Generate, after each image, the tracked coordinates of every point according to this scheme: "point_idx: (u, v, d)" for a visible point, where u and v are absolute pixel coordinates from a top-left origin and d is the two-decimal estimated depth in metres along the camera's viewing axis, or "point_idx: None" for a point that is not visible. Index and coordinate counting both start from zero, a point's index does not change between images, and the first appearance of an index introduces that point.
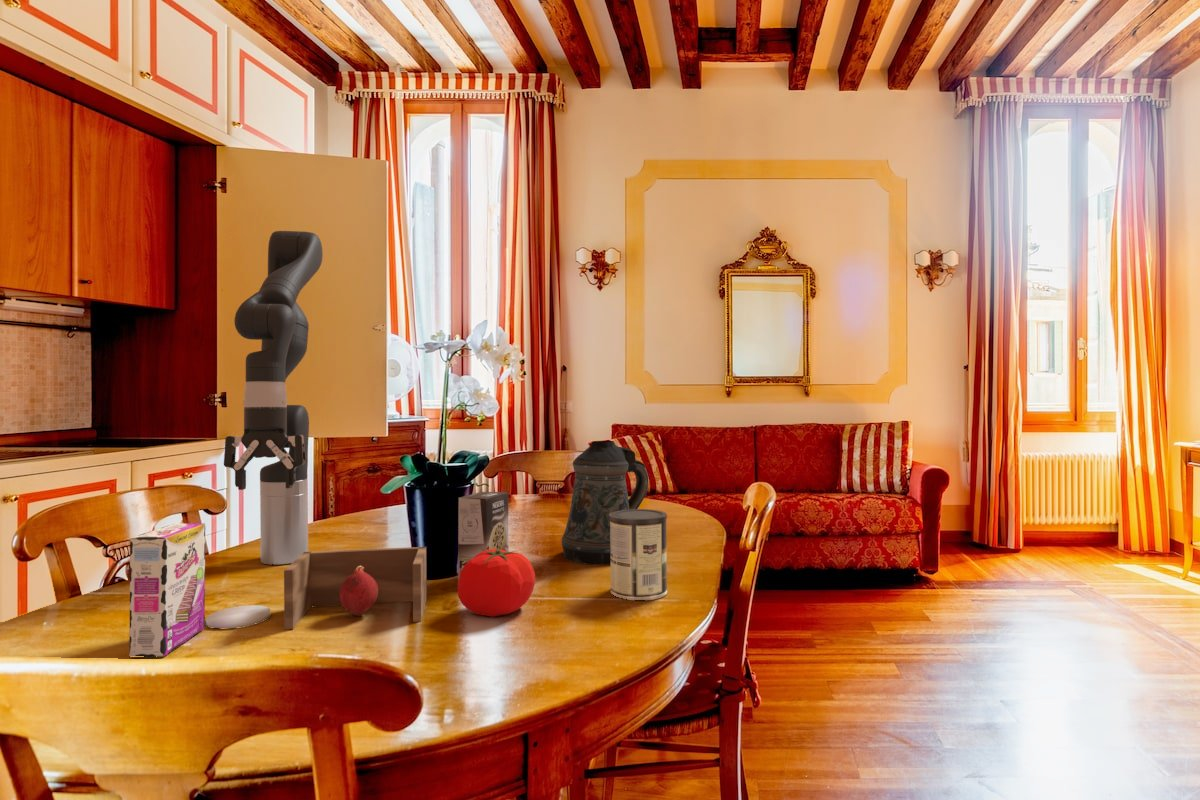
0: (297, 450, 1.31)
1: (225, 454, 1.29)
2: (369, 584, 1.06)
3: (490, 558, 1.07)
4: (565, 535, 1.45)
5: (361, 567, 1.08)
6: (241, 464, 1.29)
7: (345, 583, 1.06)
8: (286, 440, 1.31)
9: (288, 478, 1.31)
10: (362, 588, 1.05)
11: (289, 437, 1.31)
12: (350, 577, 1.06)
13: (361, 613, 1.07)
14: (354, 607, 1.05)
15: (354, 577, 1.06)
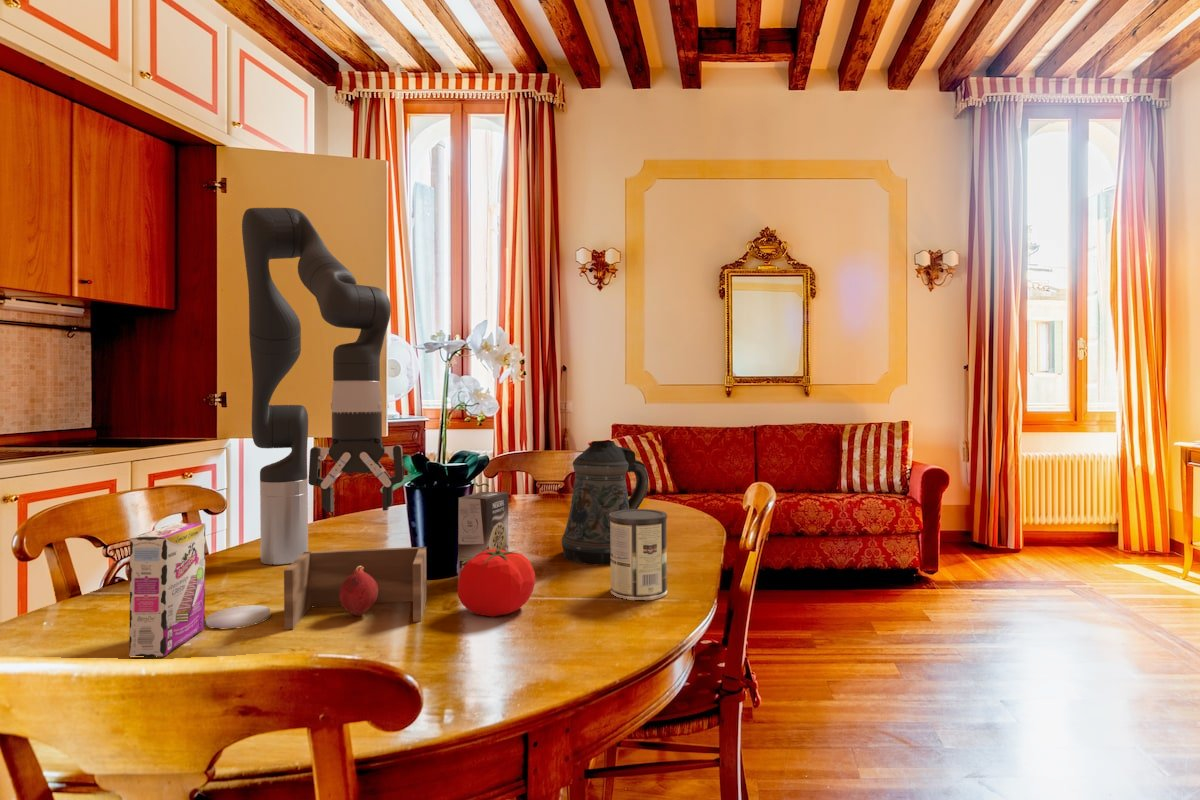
0: (396, 464, 1.07)
1: (310, 469, 1.05)
2: (369, 584, 1.06)
3: (490, 558, 1.07)
4: (565, 535, 1.45)
5: (361, 567, 1.08)
6: (329, 481, 1.05)
7: (345, 583, 1.06)
8: (382, 452, 1.07)
9: (385, 498, 1.07)
10: (362, 588, 1.05)
11: (386, 448, 1.08)
12: (350, 577, 1.06)
13: (361, 613, 1.07)
14: (354, 607, 1.05)
15: (354, 577, 1.06)
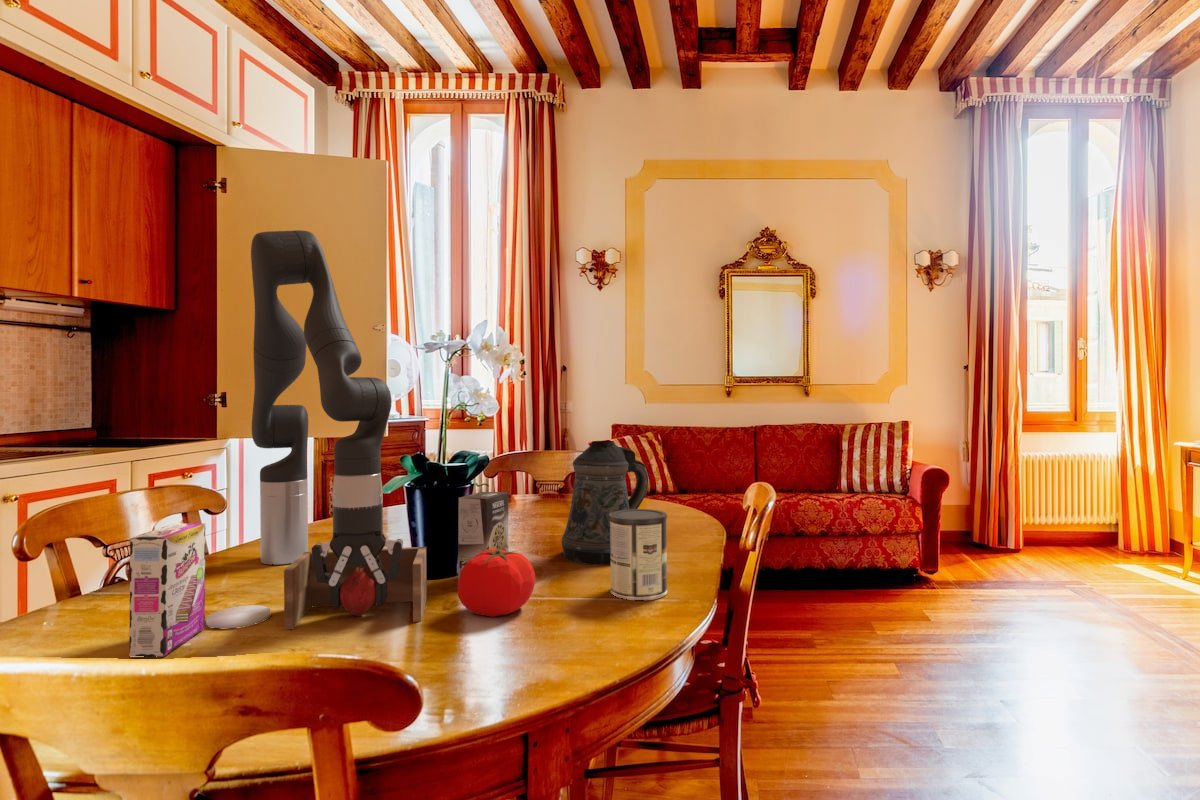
0: (393, 560, 1.07)
1: (316, 568, 1.05)
2: (369, 584, 1.06)
3: (490, 558, 1.07)
4: (565, 535, 1.45)
5: (361, 567, 1.08)
6: (336, 578, 1.06)
7: (345, 583, 1.06)
8: (383, 545, 1.07)
9: (379, 595, 1.07)
10: (362, 588, 1.05)
11: (387, 542, 1.08)
12: (350, 577, 1.06)
13: (361, 613, 1.07)
14: (354, 607, 1.05)
15: (354, 577, 1.06)
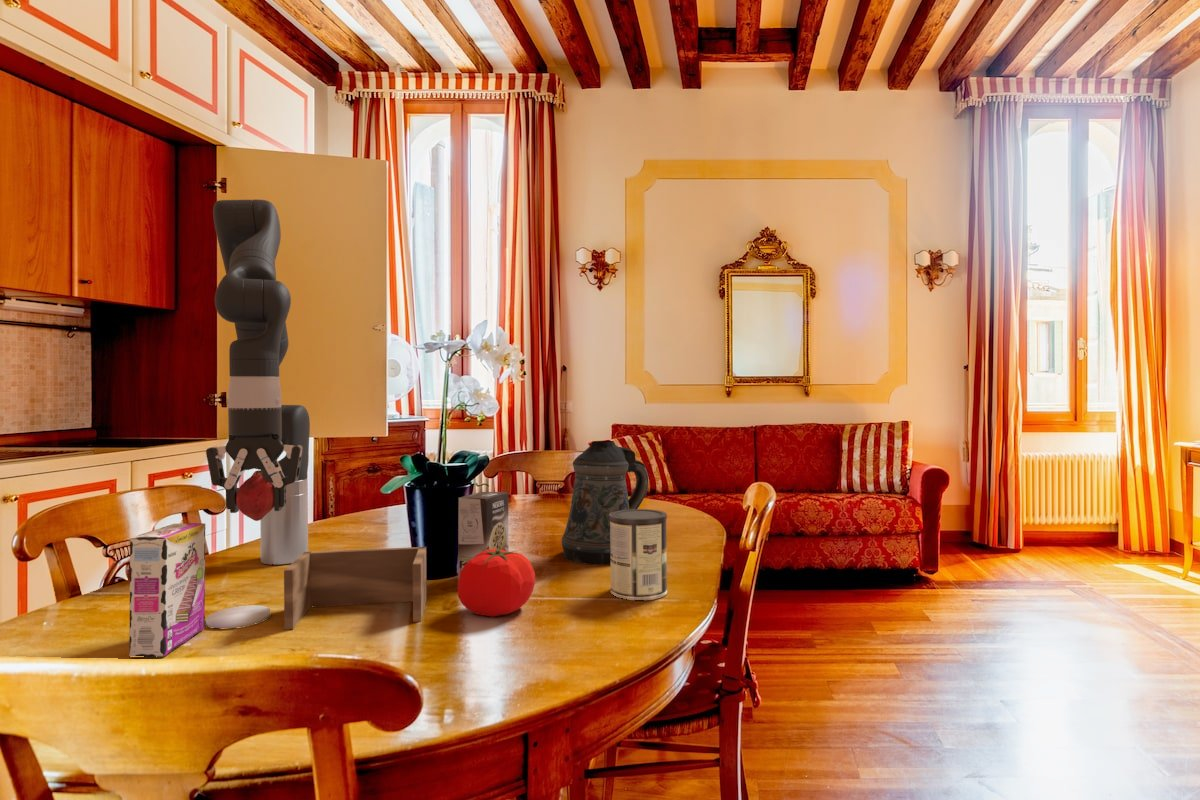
0: (291, 464, 1.07)
1: (210, 470, 1.04)
2: (266, 488, 1.06)
3: (490, 558, 1.07)
4: (565, 535, 1.45)
5: (258, 471, 1.07)
6: (232, 481, 1.05)
7: (241, 486, 1.05)
8: (281, 449, 1.07)
9: (277, 499, 1.06)
10: (259, 491, 1.05)
11: (285, 446, 1.07)
12: (247, 481, 1.05)
13: (259, 517, 1.06)
14: (250, 509, 1.04)
15: (251, 480, 1.05)
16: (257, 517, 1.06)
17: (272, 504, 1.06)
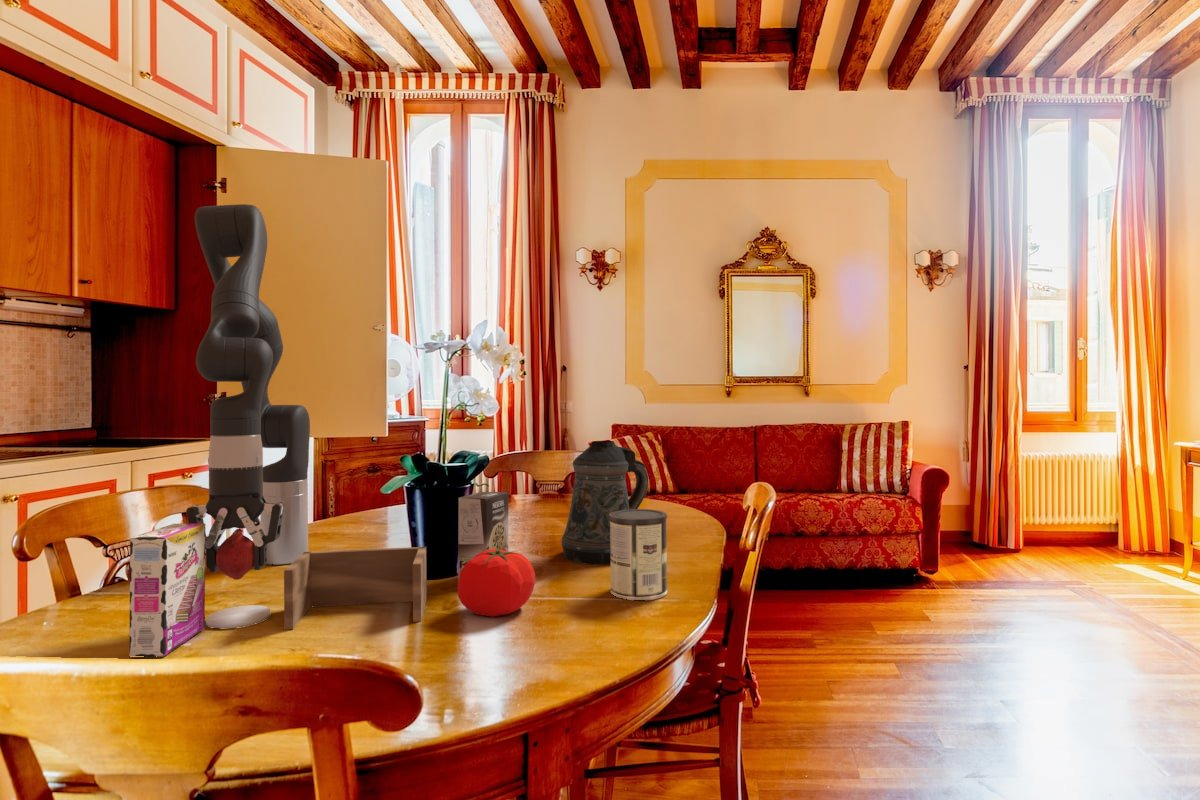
0: (272, 523, 1.06)
1: None
2: (246, 547, 1.05)
3: (490, 558, 1.07)
4: (565, 535, 1.45)
5: (239, 530, 1.06)
6: (212, 540, 1.04)
7: (221, 545, 1.04)
8: (261, 508, 1.06)
9: (257, 558, 1.06)
10: (238, 551, 1.04)
11: (266, 504, 1.06)
12: (227, 540, 1.05)
13: (238, 576, 1.05)
14: (229, 569, 1.04)
15: (230, 539, 1.05)
16: (237, 576, 1.05)
17: (252, 563, 1.06)
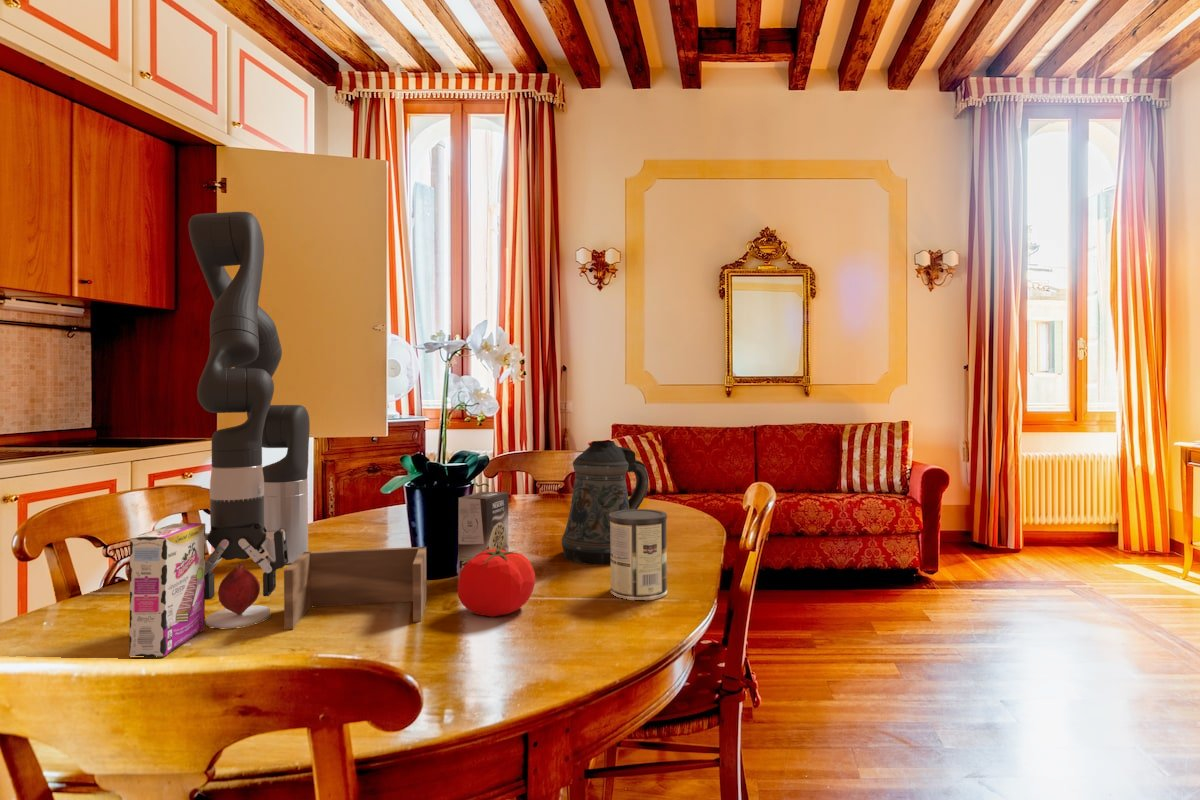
0: (277, 550, 1.06)
1: None
2: (248, 582, 1.05)
3: (490, 558, 1.07)
4: (565, 535, 1.45)
5: (241, 564, 1.06)
6: (208, 569, 1.04)
7: (223, 580, 1.05)
8: (263, 537, 1.06)
9: (266, 584, 1.06)
10: (240, 586, 1.04)
11: (267, 533, 1.07)
12: (229, 574, 1.05)
13: (240, 611, 1.06)
14: (231, 605, 1.04)
15: (233, 574, 1.05)
16: (239, 611, 1.05)
17: (254, 598, 1.06)
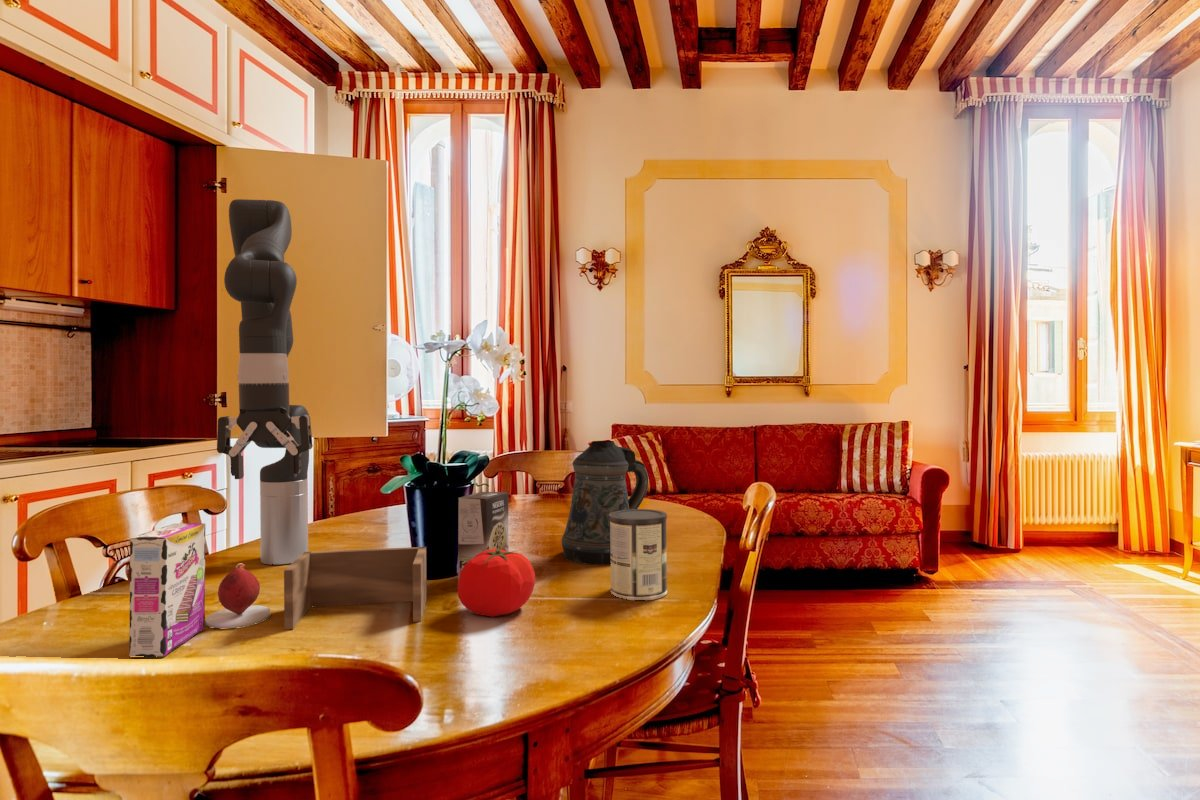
0: (302, 433, 1.12)
1: (218, 438, 1.10)
2: (248, 582, 1.05)
3: (490, 558, 1.07)
4: (565, 535, 1.45)
5: (241, 564, 1.06)
6: (237, 450, 1.11)
7: (223, 581, 1.05)
8: (289, 422, 1.12)
9: (292, 466, 1.12)
10: (240, 586, 1.04)
11: (292, 418, 1.13)
12: (229, 574, 1.05)
13: (240, 611, 1.06)
14: (231, 605, 1.04)
15: (233, 574, 1.05)
16: (239, 611, 1.05)
17: (254, 597, 1.06)
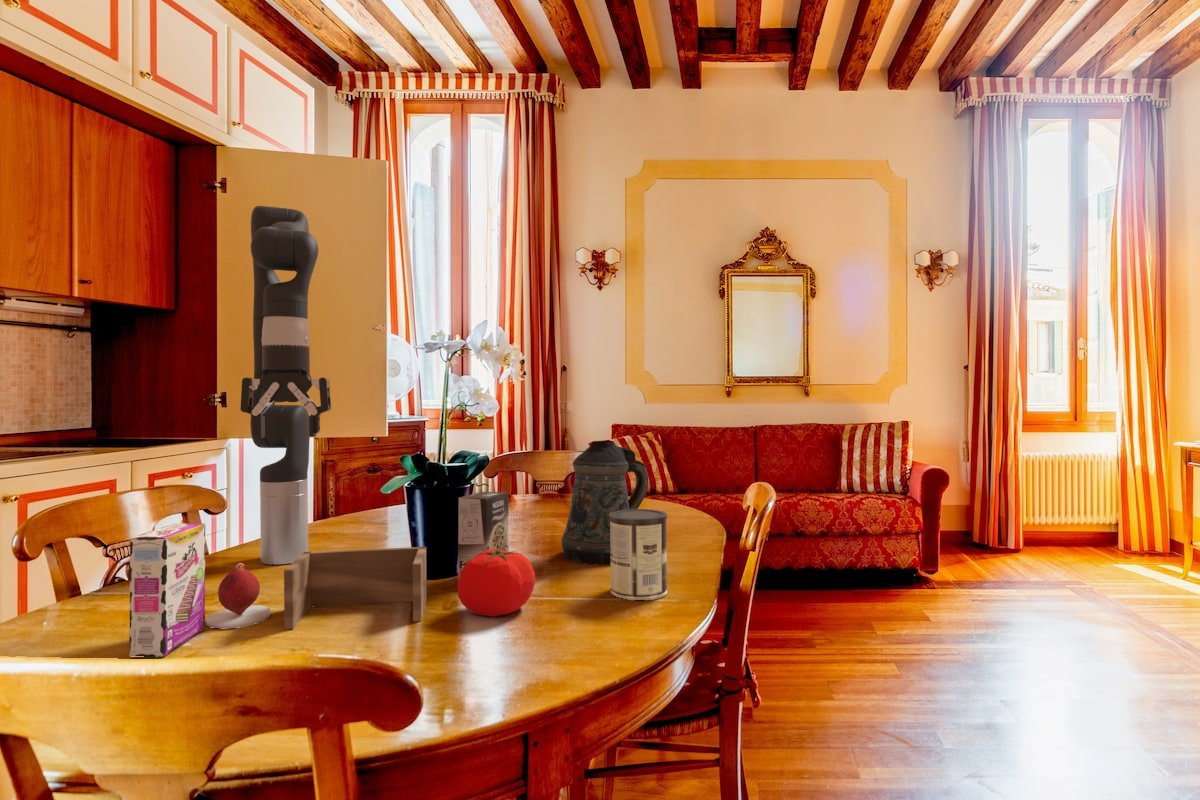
0: (322, 394, 1.17)
1: (242, 398, 1.15)
2: (248, 582, 1.05)
3: (490, 558, 1.07)
4: (565, 535, 1.45)
5: (241, 564, 1.06)
6: (260, 409, 1.16)
7: (223, 581, 1.05)
8: (309, 383, 1.17)
9: (312, 425, 1.17)
10: (240, 586, 1.04)
11: (313, 380, 1.18)
12: (229, 574, 1.05)
13: (240, 611, 1.06)
14: (231, 605, 1.04)
15: (232, 574, 1.05)
16: (239, 611, 1.05)
17: (254, 597, 1.06)
